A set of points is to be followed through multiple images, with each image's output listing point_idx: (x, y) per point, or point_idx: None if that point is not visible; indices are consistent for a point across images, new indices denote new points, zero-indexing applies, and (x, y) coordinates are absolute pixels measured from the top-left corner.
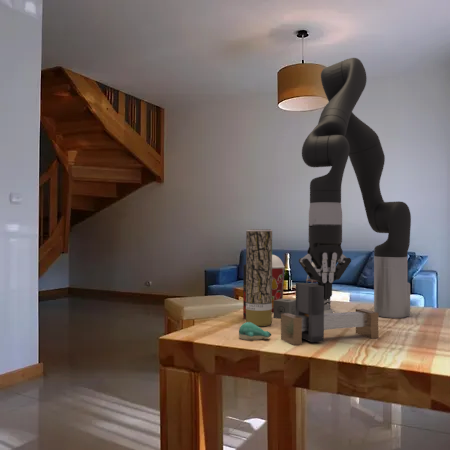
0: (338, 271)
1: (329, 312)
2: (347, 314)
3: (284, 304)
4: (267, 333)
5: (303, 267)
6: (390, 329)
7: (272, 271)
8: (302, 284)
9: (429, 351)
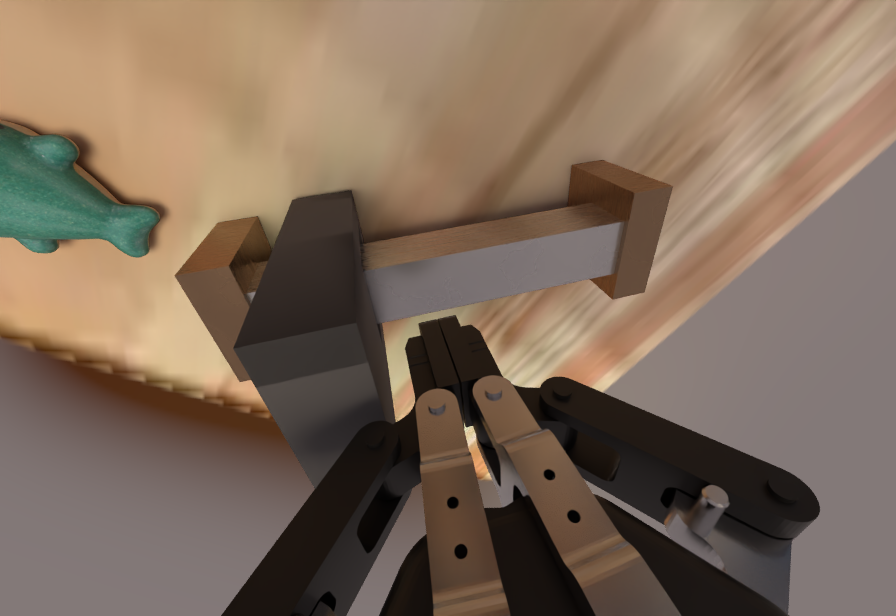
0: (584, 475)
1: None
2: (525, 287)
3: None
4: (133, 247)
5: (266, 571)
6: (737, 120)
7: None
8: (283, 418)
9: (591, 376)
